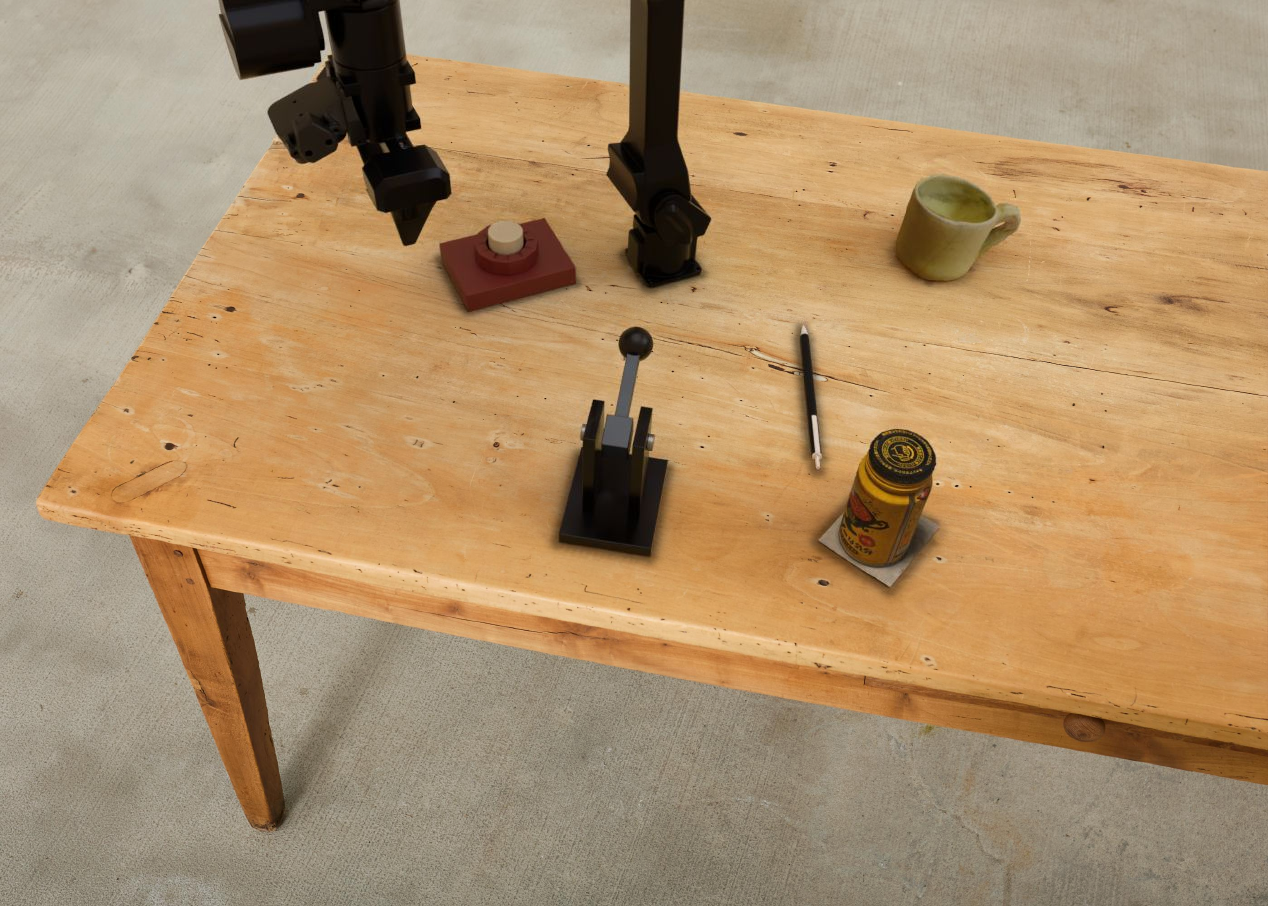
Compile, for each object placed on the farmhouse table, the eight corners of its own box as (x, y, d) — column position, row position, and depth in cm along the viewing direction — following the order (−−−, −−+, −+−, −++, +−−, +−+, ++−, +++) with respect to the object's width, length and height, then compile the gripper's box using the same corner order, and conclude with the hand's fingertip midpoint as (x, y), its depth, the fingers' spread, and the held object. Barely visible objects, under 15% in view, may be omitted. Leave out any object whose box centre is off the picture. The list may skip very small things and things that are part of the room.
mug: (884, 273, 112) (925, 186, 107) (879, 240, 121) (916, 158, 115) (992, 310, 113) (1038, 225, 107) (979, 275, 121) (1021, 194, 116)
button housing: (545, 233, 117) (544, 204, 114) (575, 283, 112) (575, 253, 109) (441, 259, 114) (437, 229, 111) (467, 312, 109) (464, 282, 105)
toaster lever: (621, 336, 92) (621, 317, 90) (655, 341, 92) (656, 322, 89) (597, 457, 87) (595, 441, 85) (632, 463, 87) (632, 447, 84)
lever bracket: (581, 454, 97) (581, 372, 89) (667, 467, 96) (675, 385, 88) (558, 542, 90) (556, 462, 82) (650, 557, 90) (658, 477, 82)
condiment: (817, 541, 92) (843, 452, 82) (869, 484, 96) (899, 394, 87) (889, 589, 89) (925, 502, 80) (939, 528, 93) (978, 439, 84)
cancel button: (516, 230, 112) (515, 216, 110) (528, 250, 110) (527, 237, 108) (484, 238, 111) (482, 224, 109) (495, 258, 109) (494, 245, 107)
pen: (812, 470, 97) (814, 463, 96) (798, 327, 109) (799, 319, 108) (822, 471, 97) (824, 463, 96) (806, 328, 109) (808, 320, 108)
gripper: (239, 13, 86) (278, 175, 98) (295, 135, 75) (332, 301, 87) (373, -9, 89) (395, 150, 101) (445, 105, 79) (460, 268, 91)
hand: (393, 214), depth 95 cm, fingers open, 9 cm apart
